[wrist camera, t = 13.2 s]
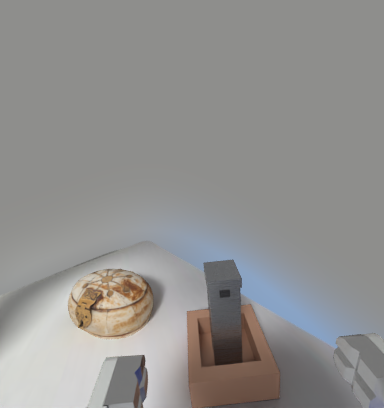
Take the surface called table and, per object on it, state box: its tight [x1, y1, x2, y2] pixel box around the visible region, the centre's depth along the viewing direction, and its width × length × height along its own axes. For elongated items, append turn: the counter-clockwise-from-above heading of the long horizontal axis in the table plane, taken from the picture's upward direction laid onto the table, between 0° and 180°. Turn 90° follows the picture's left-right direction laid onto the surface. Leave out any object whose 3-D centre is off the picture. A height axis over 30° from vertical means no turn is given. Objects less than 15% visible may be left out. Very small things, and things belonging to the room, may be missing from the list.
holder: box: [187, 304, 280, 408], centre depth 27 cm, size 10×10×4 cm
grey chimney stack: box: [204, 260, 243, 366], centre depth 26 cm, size 4×4×13 cm
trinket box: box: [68, 269, 153, 339], centre depth 37 cm, size 13×15×8 cm
